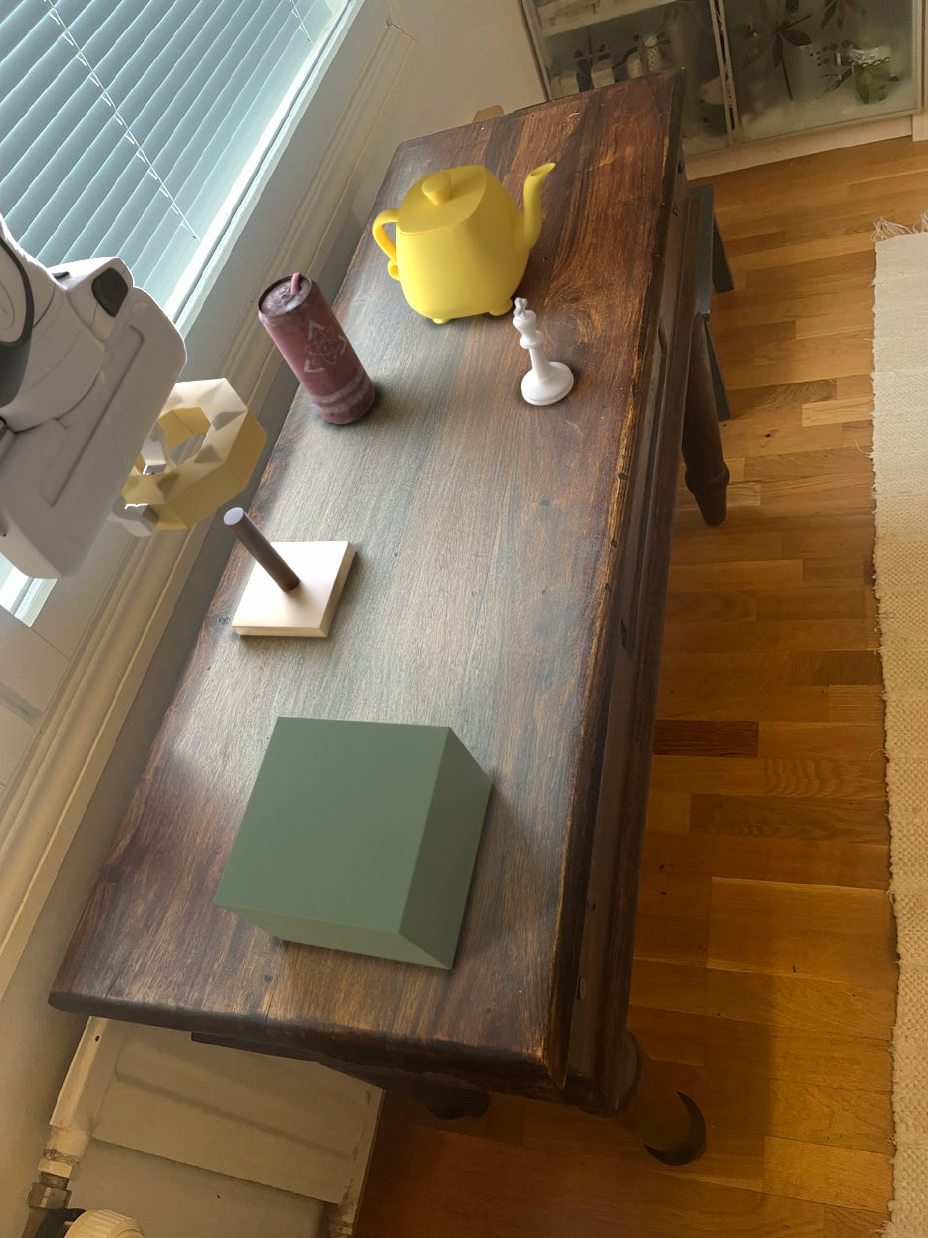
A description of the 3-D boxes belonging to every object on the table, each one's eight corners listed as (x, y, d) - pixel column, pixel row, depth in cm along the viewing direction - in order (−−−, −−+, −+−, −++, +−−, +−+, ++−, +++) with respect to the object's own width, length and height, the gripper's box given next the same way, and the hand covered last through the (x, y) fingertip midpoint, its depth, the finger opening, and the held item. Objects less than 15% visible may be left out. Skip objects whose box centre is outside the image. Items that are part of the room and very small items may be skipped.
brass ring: (229, 528, 64) (207, 502, 62) (97, 531, 68) (73, 507, 66) (283, 401, 69) (265, 374, 67) (158, 412, 74) (137, 386, 72)
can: (383, 376, 95) (322, 263, 84) (369, 423, 91) (304, 311, 80) (331, 384, 97) (265, 274, 86) (315, 429, 94) (245, 321, 83)
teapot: (417, 259, 104) (371, 154, 94) (592, 229, 96) (562, 112, 86) (389, 346, 97) (336, 243, 87) (575, 321, 90) (540, 204, 80)
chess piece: (582, 369, 86) (555, 281, 78) (560, 408, 84) (531, 322, 76) (535, 364, 88) (505, 278, 80) (513, 402, 86) (480, 318, 78)
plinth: (451, 970, 60) (398, 933, 53) (281, 940, 65) (212, 902, 58) (492, 781, 66) (450, 726, 59) (334, 767, 71) (277, 715, 64)
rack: (327, 637, 78) (262, 562, 70) (239, 635, 82) (167, 563, 73) (356, 550, 83) (299, 469, 74) (271, 552, 86) (207, 475, 78)
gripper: (-20, 494, 49) (138, 630, 60) (132, 240, 59) (243, 396, 69) (-102, 498, 51) (64, 628, 62) (57, 253, 61) (176, 403, 72)
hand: (159, 504), depth 66 cm, fingers closed on brass ring, 3 cm apart
